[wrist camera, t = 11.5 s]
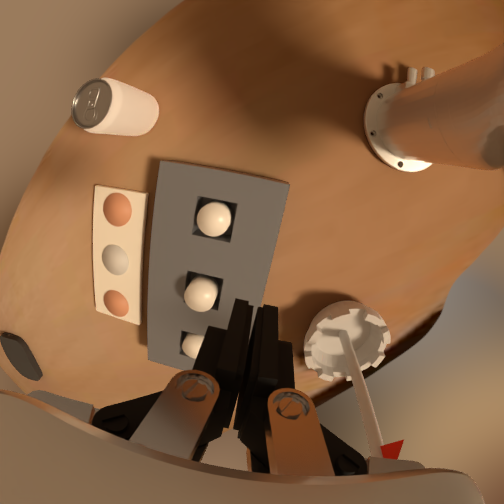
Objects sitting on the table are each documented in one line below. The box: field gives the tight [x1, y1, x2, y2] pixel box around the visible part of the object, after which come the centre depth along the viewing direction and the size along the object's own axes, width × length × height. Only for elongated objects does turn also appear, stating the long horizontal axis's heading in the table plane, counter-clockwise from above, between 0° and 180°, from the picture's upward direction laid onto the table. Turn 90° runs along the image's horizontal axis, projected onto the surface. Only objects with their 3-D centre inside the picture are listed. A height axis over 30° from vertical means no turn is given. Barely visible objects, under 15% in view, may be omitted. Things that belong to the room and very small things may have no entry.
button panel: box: [147, 160, 290, 371], centre depth 39 cm, size 32×16×4 cm, turn 168°
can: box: [71, 78, 159, 136], centre depth 27 cm, size 6×6×12 cm
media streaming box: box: [0, 333, 42, 381], centre depth 53 cm, size 15×15×3 cm
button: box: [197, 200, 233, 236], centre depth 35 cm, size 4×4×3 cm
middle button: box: [184, 274, 219, 312], centre depth 37 cm, size 4×4×3 cm
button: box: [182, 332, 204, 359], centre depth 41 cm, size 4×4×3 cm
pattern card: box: [93, 185, 149, 325], centre depth 40 cm, size 22×9×1 cm, turn 168°
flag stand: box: [304, 301, 404, 460], centre depth 27 cm, size 13×13×30 cm
